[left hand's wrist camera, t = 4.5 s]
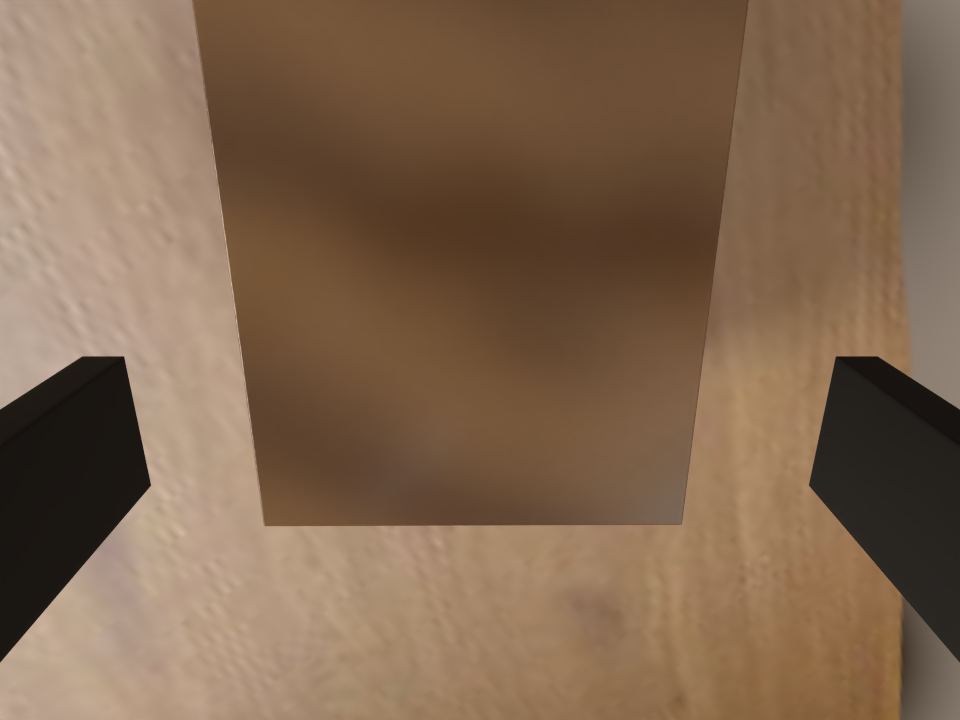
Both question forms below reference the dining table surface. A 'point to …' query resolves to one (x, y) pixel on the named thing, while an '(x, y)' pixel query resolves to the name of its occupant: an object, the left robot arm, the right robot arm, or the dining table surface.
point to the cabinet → (471, 250)
